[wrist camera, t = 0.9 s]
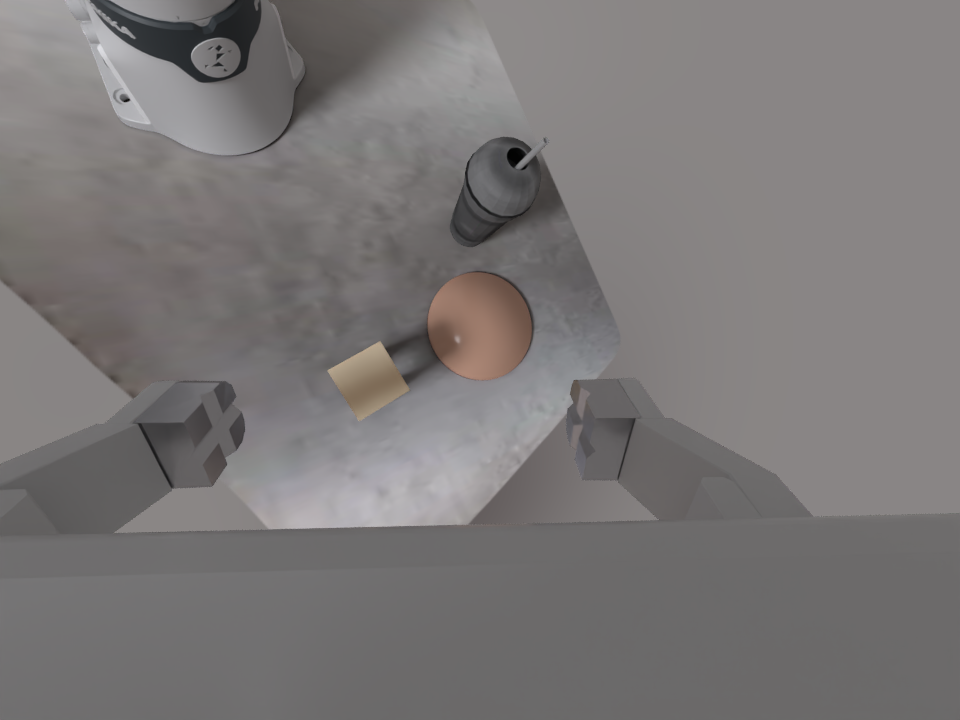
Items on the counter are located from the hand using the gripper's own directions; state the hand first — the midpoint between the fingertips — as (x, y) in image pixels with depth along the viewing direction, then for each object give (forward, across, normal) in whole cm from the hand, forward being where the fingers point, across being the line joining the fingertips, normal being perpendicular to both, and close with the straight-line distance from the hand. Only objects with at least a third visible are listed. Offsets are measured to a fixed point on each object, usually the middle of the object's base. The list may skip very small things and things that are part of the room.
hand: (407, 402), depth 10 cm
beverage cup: (+43, -2, +6) cm, 43 cm away
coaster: (+36, -4, +16) cm, 39 cm away
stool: (+29, +9, +19) cm, 36 cm away
